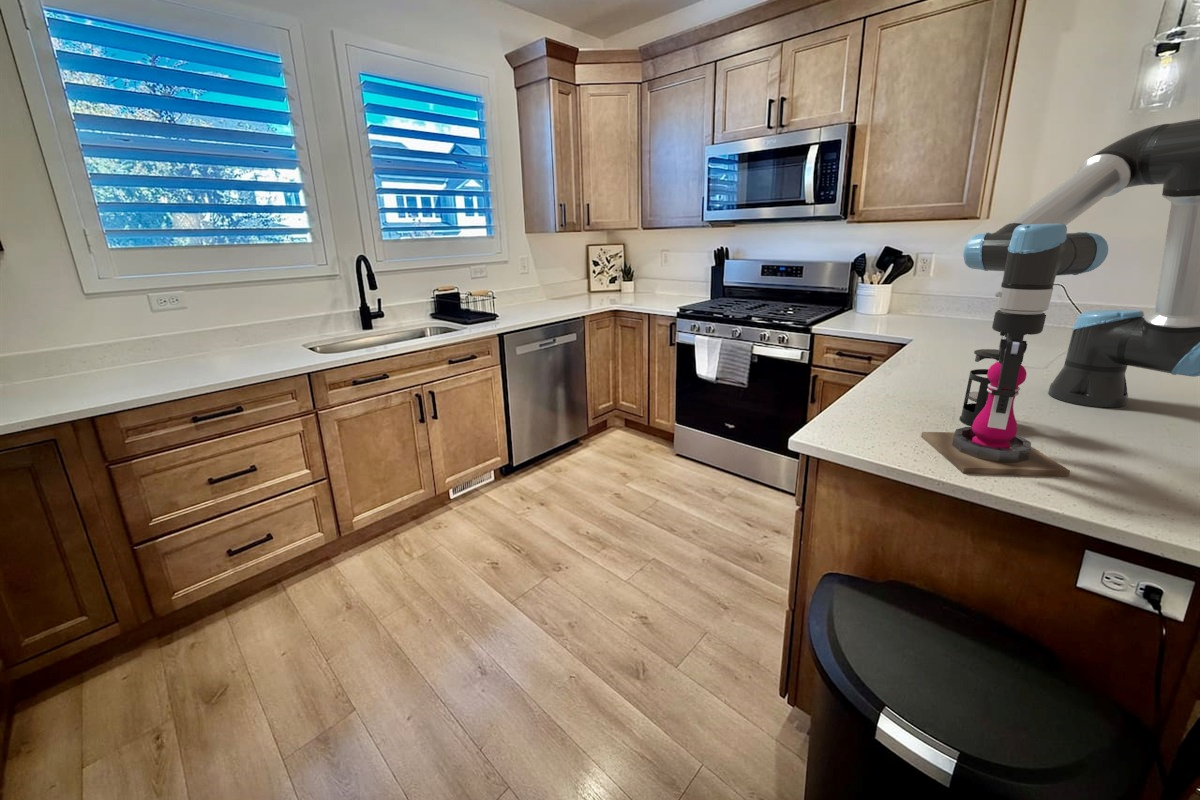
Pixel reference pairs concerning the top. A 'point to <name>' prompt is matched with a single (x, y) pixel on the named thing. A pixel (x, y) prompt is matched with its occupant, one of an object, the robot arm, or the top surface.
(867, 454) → the top surface
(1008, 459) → the iron collar
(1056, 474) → the collar plate
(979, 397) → the french press
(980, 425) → the pepper mill
